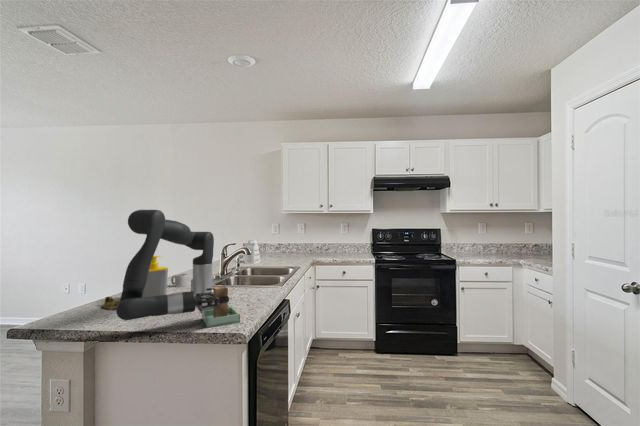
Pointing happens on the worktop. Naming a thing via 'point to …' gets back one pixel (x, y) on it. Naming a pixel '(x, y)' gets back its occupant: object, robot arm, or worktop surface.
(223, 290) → the brown wooden block
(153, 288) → the soap bottle
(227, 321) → the tray
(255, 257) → the grater
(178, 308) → the robot arm
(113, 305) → the seal
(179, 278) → the mug
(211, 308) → the crank bed
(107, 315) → the worktop surface
